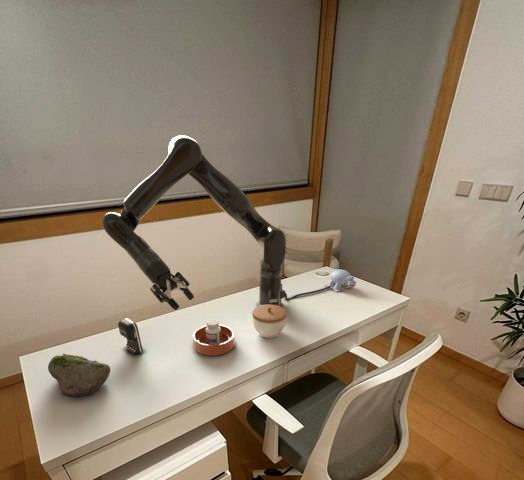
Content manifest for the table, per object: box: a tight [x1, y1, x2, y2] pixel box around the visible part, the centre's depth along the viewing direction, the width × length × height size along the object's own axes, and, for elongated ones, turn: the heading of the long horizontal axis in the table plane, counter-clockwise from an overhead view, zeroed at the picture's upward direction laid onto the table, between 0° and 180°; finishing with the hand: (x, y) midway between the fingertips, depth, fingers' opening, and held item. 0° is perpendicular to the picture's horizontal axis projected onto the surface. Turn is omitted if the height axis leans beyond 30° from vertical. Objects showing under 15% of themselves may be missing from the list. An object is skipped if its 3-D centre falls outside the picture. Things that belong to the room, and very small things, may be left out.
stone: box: [47, 353, 111, 398], centre depth 94 cm, size 19×14×10 cm
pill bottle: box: [206, 319, 222, 345], centre depth 112 cm, size 5×5×9 cm
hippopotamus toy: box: [326, 265, 357, 292], centre depth 157 cm, size 11×15×10 cm
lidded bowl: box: [251, 304, 288, 339], centre depth 119 cm, size 13×13×11 cm
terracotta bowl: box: [192, 324, 236, 356], centre depth 113 cm, size 14×14×4 cm
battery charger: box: [117, 317, 144, 355], centre depth 107 cm, size 7×4×11 cm, turn 49°
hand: (185, 303), depth 110 cm, fingers open, 8 cm apart
